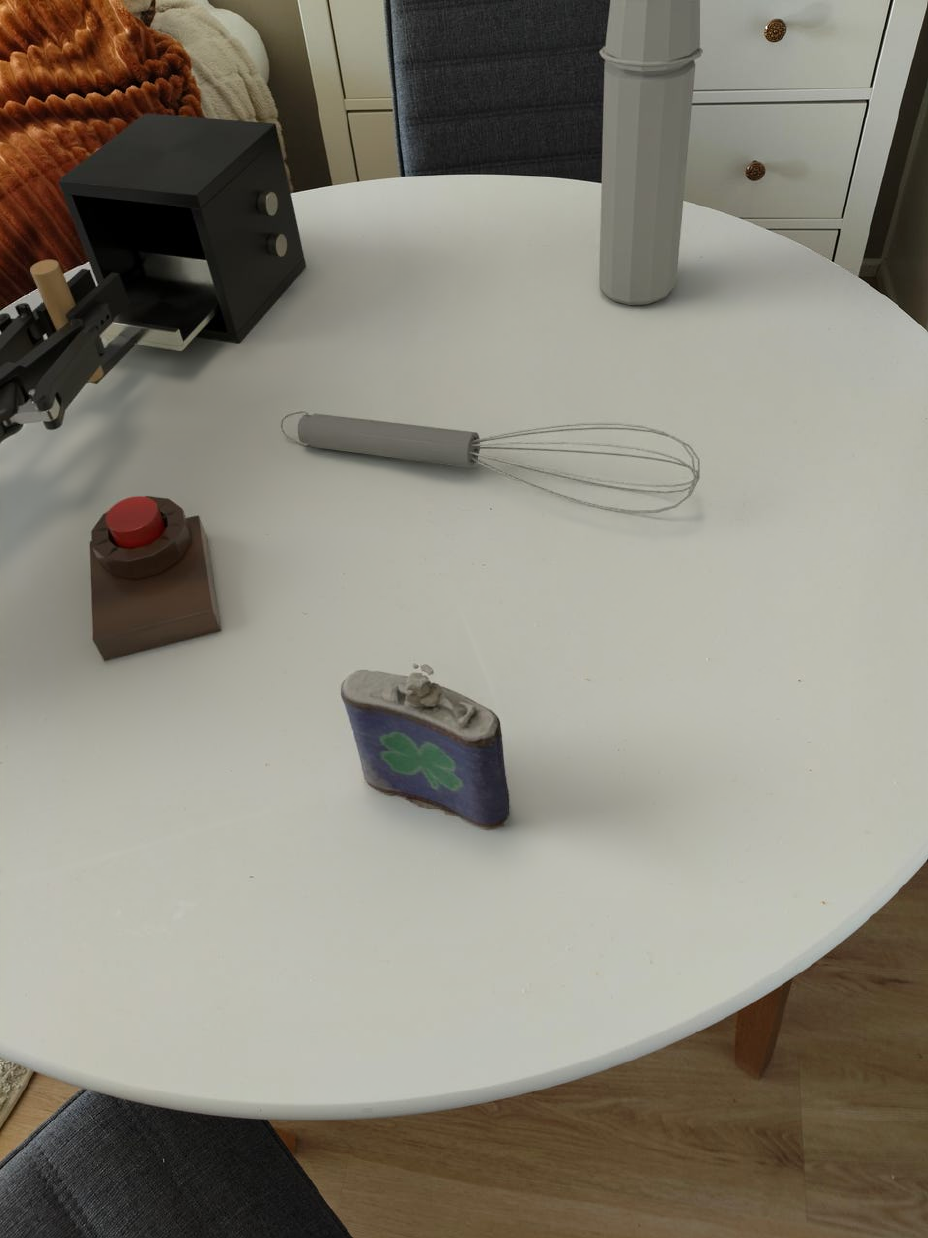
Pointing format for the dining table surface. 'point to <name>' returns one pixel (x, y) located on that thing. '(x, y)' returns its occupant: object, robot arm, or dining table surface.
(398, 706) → the flask
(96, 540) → the brown boxy piece
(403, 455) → the kitchen whisk
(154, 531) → the button
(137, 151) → the oven
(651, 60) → the water bottle
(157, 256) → the tray
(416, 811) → the dining table surface
